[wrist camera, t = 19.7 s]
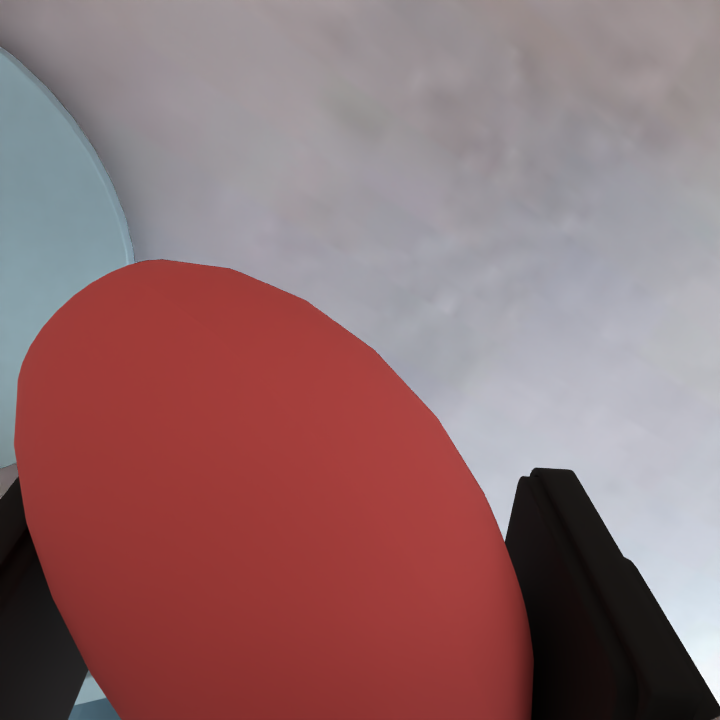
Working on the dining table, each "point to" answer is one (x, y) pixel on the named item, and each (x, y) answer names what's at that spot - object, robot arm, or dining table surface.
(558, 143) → the dining table surface
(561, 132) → the dining table surface
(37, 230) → the lid
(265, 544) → the stress ball
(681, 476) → the dining table surface
